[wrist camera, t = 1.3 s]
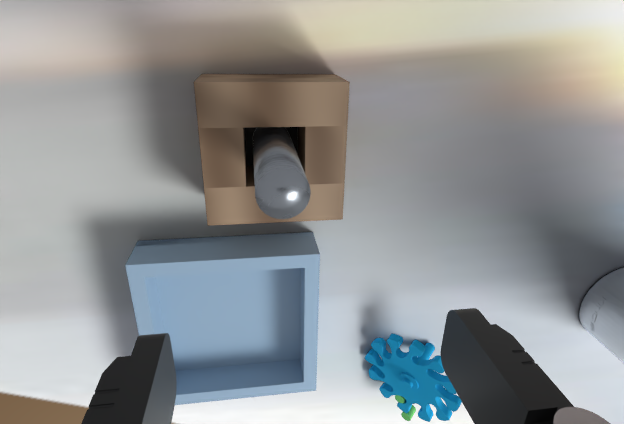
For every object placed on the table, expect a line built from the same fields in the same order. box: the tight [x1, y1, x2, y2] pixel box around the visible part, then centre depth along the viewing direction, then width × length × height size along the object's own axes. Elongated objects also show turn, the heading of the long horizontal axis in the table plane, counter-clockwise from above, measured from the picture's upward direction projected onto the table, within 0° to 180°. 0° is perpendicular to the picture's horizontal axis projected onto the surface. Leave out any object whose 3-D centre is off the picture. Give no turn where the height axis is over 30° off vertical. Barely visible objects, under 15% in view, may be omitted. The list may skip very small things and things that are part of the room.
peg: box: [253, 127, 311, 219], centre depth 28 cm, size 3×3×12 cm
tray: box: [125, 232, 320, 405], centre depth 37 cm, size 15×15×4 cm
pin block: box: [194, 74, 350, 226], centre depth 31 cm, size 10×10×5 cm
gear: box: [365, 334, 462, 422], centre depth 43 cm, size 11×6×10 cm
